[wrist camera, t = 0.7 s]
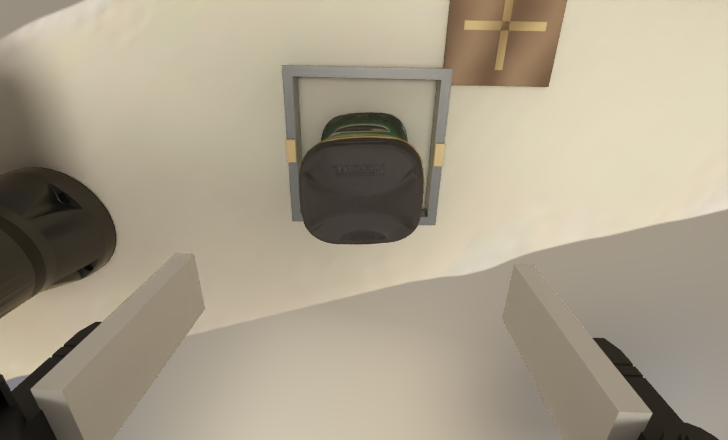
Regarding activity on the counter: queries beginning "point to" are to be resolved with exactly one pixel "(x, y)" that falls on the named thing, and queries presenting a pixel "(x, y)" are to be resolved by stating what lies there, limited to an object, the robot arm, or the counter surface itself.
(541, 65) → the pad
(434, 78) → the grey square shallow frame
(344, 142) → the coffee jar
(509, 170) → the counter surface
